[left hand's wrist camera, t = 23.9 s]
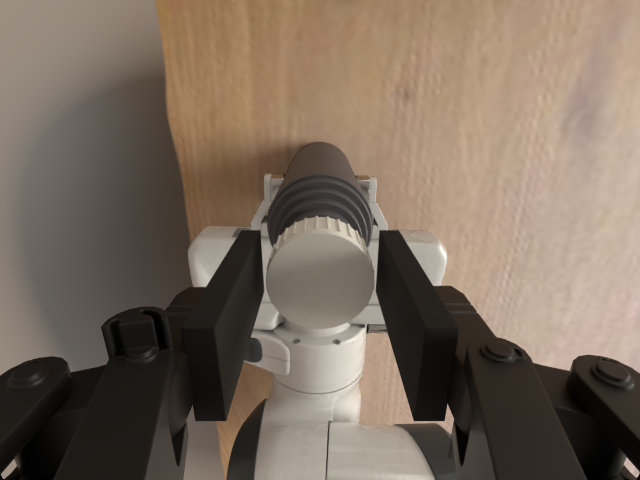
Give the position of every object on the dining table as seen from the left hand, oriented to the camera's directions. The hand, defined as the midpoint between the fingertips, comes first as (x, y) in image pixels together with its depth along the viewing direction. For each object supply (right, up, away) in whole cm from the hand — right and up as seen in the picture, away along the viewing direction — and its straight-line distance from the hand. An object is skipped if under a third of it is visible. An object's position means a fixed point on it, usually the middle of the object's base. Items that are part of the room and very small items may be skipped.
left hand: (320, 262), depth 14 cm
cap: (0, -1, -1) cm, 1 cm away
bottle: (0, +7, +19) cm, 20 cm away
